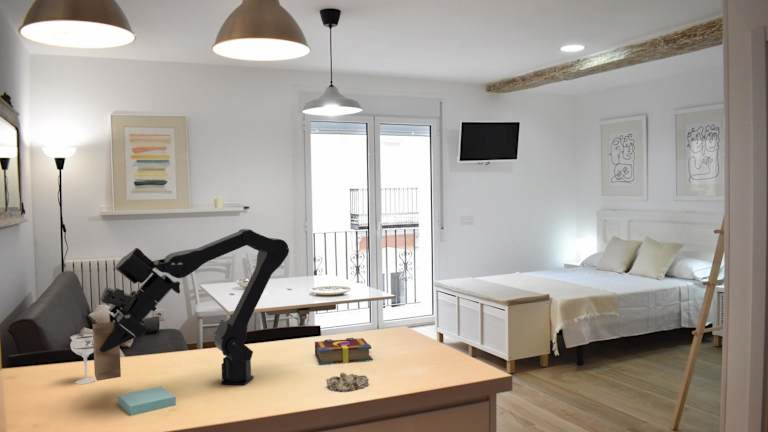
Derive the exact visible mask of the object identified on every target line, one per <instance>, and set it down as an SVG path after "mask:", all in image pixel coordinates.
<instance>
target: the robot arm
mask: <svg viewBox="0 0 768 432" xmlns="http://www.w3.org/2000/svg"><path fill="white" fill-rule="evenodd" d="M246 246H247V247H249V248H252V249H254V250H256V251H257V255H256V264H255V269H254V271H253V273H252V275H251V276H250V277H249V280H248V282H247V284H246V286H245V289H244V290H243V293H242V294H241V297H240V299H239V301H238V303H237V305H236V307H235V309H234V311H233V312H232V315H231V316H230V317H229V318H228V319H227V320H226V321H225V320H224V319H220V320H219V321H220V322H219V325H218V327H217V329H216V331H214V332H213V334H214V340H213V341H214V344H215V345H214V346H215V347H216V348H217V349H218V350H219V351H221V353H222V355H223V356H224V357H223V359H222V362H223V363H221V381H220V384H221V385H233V386H234V385H236V386H241V385H242V386H244V385H247V383H249V382H250V381H251V380H253V379H254V377H255V376H254V375H252V366H251V365H252V361H251V360H252V358H253V353H254V352H253V350H251V349H250V348H249V347H248V346H247V345H245V343H246V338H247V336H248V335H247V334H248V327H249V326H248V324H249V321H250V320H251V318H252V316H253V314H254V313H255V309H256V308H257V305H258V303H259V301H260V299H261V297H262V295H263V293H264V291H265V290H266V287H267V285H268V283H269V281H270V278H271V277H272V275H273V274H274V272H276V270H278V269H279V268H280V267H281V266H282V264H283V263H284V261H285V260H286V258H288V255H289V253H290V249H289V245H288V244H287V242H286V241H285V240H283V239H280V238H274V237H267V236H264V235H262V234H260V233H257V232H255V231H254V230H252V229H248V228H241V229H240V230H238V231H237V232H234V233H232V234H229V235H227V236H224V237H221V238H219V239H216V240H214V241H212V242H209V243H207V244H204V245H202V246H199V247H197V248H196V247H195V248H192V249H191V248H190V249H185V250H180V251H175V252H171V253H169V254H167V255H166V256H165V257H164V258H161V259H155V260H152V259H150V258H149V257H148V256H147V255H145V254H144V252H143V251H142V250H141V249H139V248H138V247H135V248H134V249H133V250H132V251H130V252H129V253H128V254H127V255H124V256H123V257H122V258H121V259H120V260H119V262H117V264H116V266H115V267H114V269H115V270H116V271H117V272H119V273H120V274H121V275H122V276H124V278H126V279H127V280H129V281H130V282H131V283H132V284H133V285H134V284H137V283H139V284H141V286H140V287H139V288H138V289H137V290H132V291H131V292H130V293H125V291H124V289H120V288H118V287H116V288H115V289H113V288H110V287H107V286H106V287H104V291H103V292H102V294H101V297H100V301H101V303H104V304H107V305H111V306H110V307H109V308H108V309H107V310H108V311H109V312H110V313H108V320H109V322H113V325H114V329H113V331H112V332H111V334H110V335H109V336H108V338H107V339H106V341H105V342H104V344H103V345H102V347H101V348H100V351H101V352H103V353H104V352H106V351H108V350H110V349H112V348H114V347H116V346H118V345H123V344H125V343H127V342H129V341H131V340H134V339H135V338H136V337H137V338H138V339H139V340H140V339H141V338H142V337H143V336H144V335H145V334H146V333H147V331H146V329H147V327H146V325H145V324H144V323H145V321H144V320H145V319H146V318H147V316H149V314H150V313H151V312H155V311H156V310H157V306H158V305H159V303H160V302H162V301H163V299H164V298H165V297H166V296H167V295H168V294H169V293H170V292H171V290H173V292H174V293H176V294H180V293H181V288H180V286H181V285H180V284H181V282H180V281H178V280H176V281H174V280H173V279H171V278H170V277H173V278H176V279H182V278H185V277H187V276H189V275H190V274H192V273H193V272H195V271H197V270H198V269H199V268H200V267H201V266H203V265H204V264H205V263H208V262H210V261H212V260H215V259H217V258H219V257H222V256H224V255H227V254H228V253H229V254H230V253H231V252H234V251H236V250H239V249H241V248H243V247H246ZM154 270H156V271H159V272H161V273H166V274H167V275H169V276H170V277H169V276H167V275H166V274H163V275H160V274H158V273H157V272H156V271H154ZM111 313H112V314H111Z"/></svg>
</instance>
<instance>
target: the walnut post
mask: <svg viewBox="0 0 768 432" xmlns="http://www.w3.org/2000/svg"><path fill="white" fill-rule="evenodd" d="M113 329H114V325H113V322H101V323H94V324H93V323H92V333H93V346H94V352H93V362H94V363H93V365H94V367H93V368H94V377H95V379H96V382H97V381H98V382H99V381H105V380H111V379H115V378H117V379H118V378H121V377H122V370H121V369H122V368H121V351H120V350H121V348H120V345H121V344H120V345H118V346H116V347H114V348H112V349H110V350H108V351H106V352H104V353H103V352H101V351H100V348H101V347H102V345H103V344H104V342H105V341H106V339H107V338H108V336H109V335H110V334H111V332H112V331H113Z"/></svg>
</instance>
